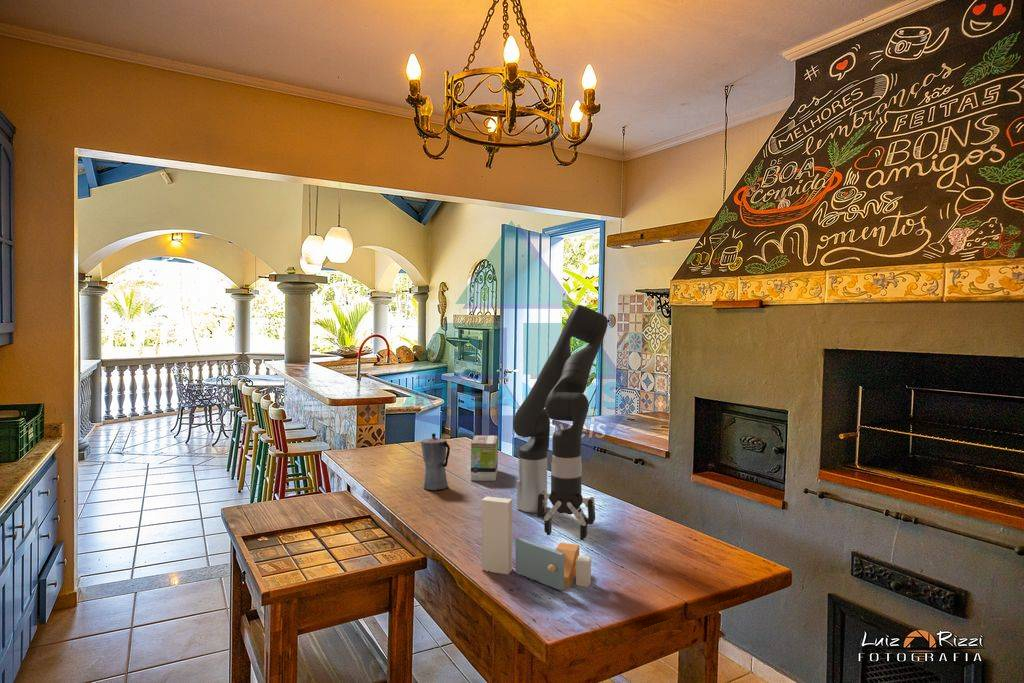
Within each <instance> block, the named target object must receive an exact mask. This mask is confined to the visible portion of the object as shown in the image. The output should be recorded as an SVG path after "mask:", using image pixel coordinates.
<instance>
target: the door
mask: <svg viewBox="0 0 1024 683" xmlns="http://www.w3.org/2000/svg"><path fill="white" fill-rule="evenodd" d="M514 546H515V573H517V574H519V575H522V576H525V577H527V578H529V579H531V580H534V581H537V582H538V583H541V584H543V585H546V586H548V587H552V588H554V589H557V590H558V591H563V590H564V589H565V587H564V553H562V552H559V551H556V549H554V548H550V547H547V546H544V545H541V544H538V543H535V542H533V541H530V540H527V539H525V538H522V537H517V538H515V545H514Z"/></svg>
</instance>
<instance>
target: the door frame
mask: <svg viewBox="0 0 1024 683" xmlns="http://www.w3.org/2000/svg"><path fill="white" fill-rule="evenodd" d="M482 570H486V571H485V572H488V571H490V573H495V574H496V573H497V574H503V575H510V573H511V572H512V570H513V499H512V498H504V497H494V496H485V497H483V498H482V499H481V571H482ZM591 582H592V556H587V555H581V554H579V556H578V558H577V559H576V575H575V586H580V587H586V588H587V587H590V585H591Z"/></svg>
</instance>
